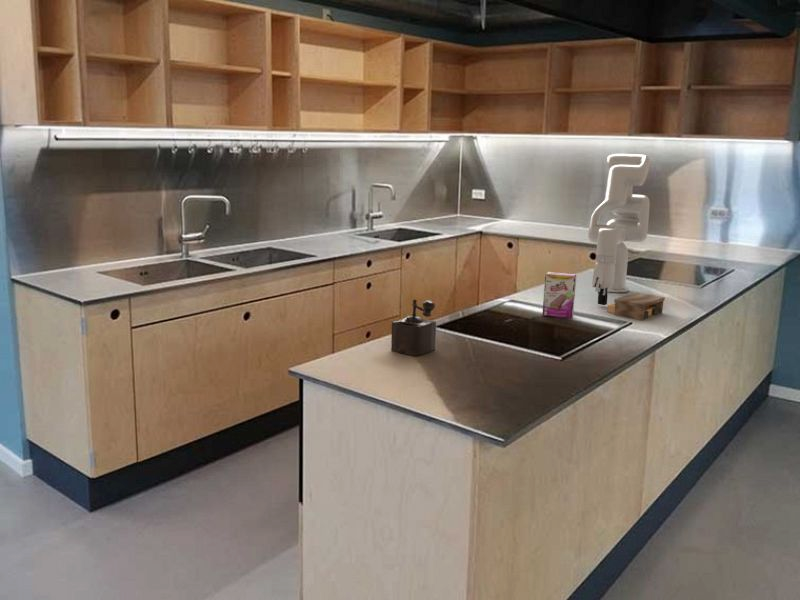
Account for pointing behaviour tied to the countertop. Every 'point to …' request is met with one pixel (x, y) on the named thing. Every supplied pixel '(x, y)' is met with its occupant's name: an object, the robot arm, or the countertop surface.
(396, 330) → the black manual coffee grinder
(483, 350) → the countertop surface
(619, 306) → the walnut shelf
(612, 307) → the orange cover
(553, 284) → the candy bar box
